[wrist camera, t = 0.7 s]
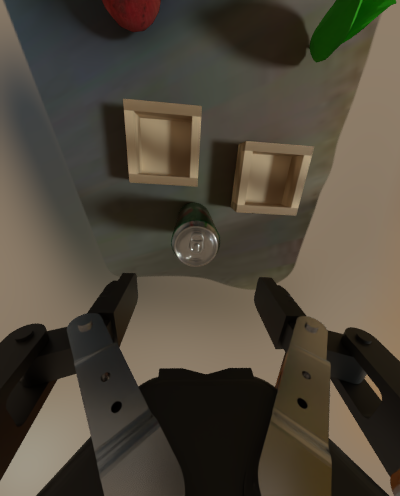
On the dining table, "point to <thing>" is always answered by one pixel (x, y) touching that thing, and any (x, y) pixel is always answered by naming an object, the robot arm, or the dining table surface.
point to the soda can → (195, 236)
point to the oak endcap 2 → (270, 177)
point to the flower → (344, 24)
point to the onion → (133, 13)
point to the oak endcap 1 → (162, 142)
